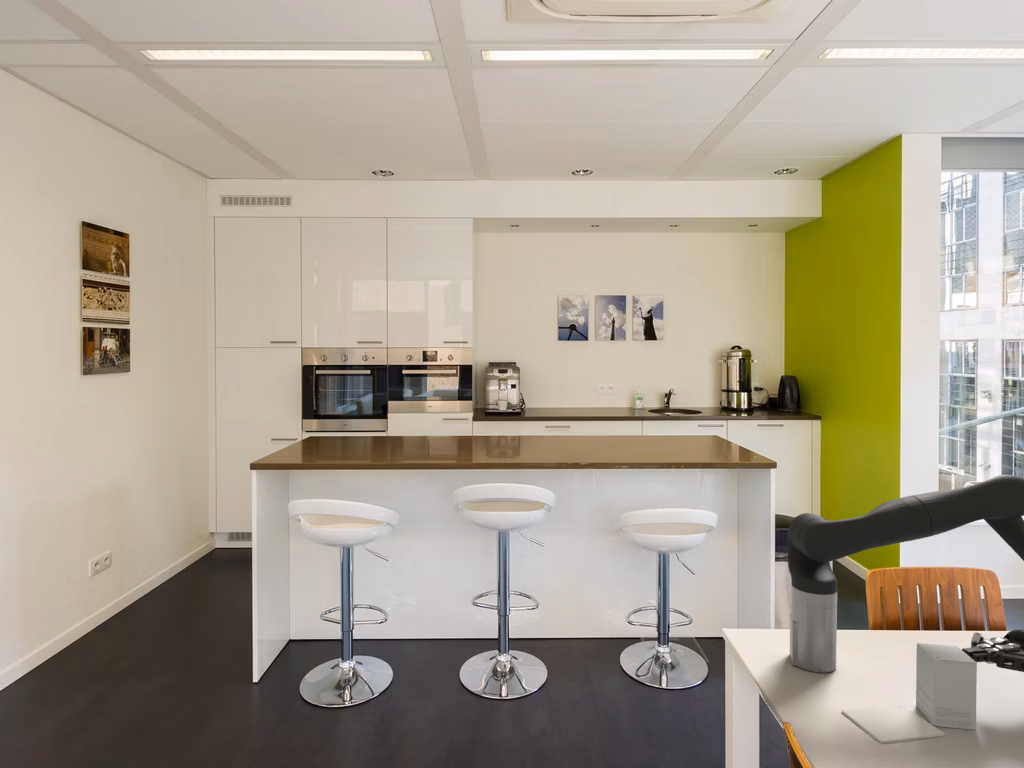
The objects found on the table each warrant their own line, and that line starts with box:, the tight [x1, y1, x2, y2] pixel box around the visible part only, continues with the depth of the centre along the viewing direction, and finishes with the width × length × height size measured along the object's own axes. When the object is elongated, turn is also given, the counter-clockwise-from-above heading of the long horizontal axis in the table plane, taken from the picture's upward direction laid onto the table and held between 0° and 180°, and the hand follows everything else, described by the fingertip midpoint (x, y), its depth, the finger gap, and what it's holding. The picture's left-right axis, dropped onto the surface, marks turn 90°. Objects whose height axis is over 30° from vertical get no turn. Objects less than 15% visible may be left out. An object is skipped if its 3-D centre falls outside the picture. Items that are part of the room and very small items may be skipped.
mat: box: [841, 703, 946, 744], centre depth 114 cm, size 13×10×1 cm
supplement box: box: [915, 642, 978, 731], centre depth 116 cm, size 7×7×13 cm
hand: (965, 655), depth 117 cm, fingers closed
